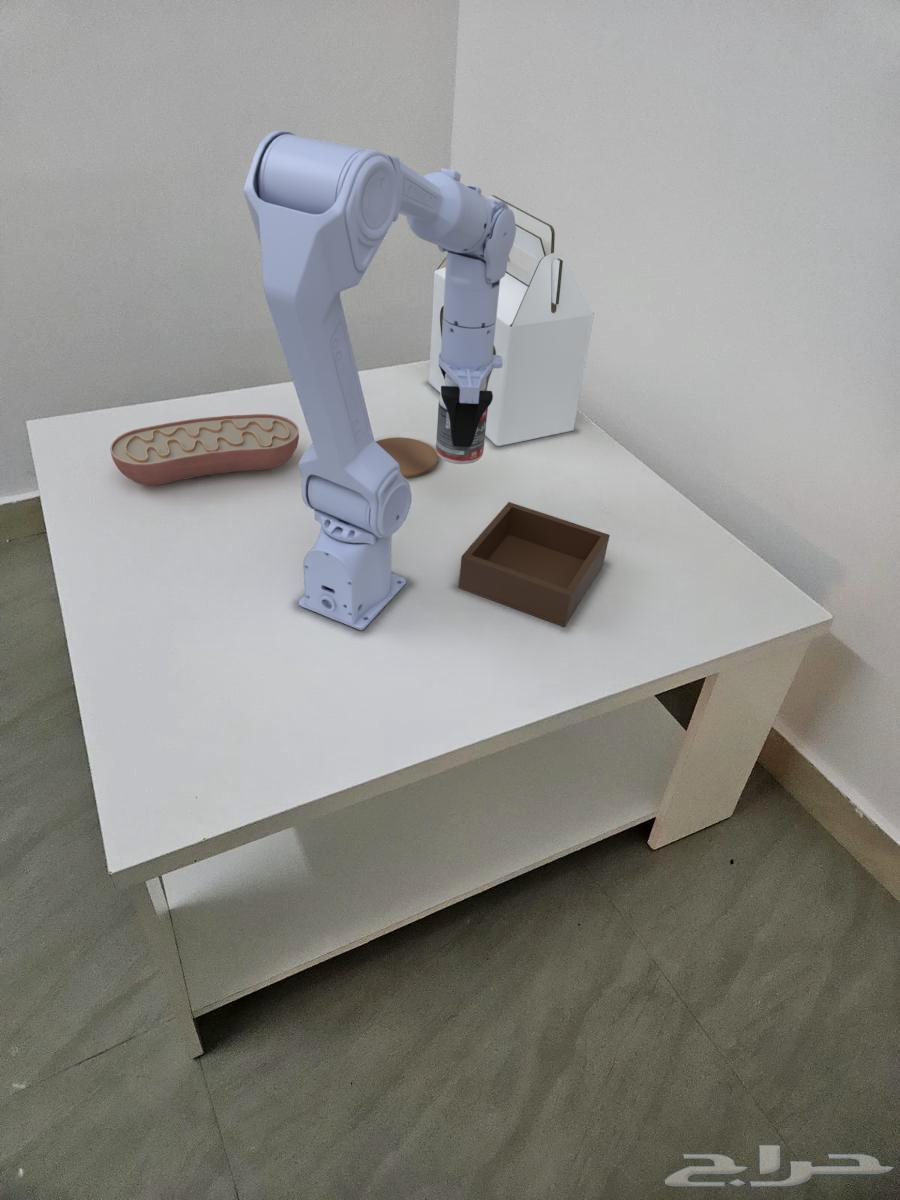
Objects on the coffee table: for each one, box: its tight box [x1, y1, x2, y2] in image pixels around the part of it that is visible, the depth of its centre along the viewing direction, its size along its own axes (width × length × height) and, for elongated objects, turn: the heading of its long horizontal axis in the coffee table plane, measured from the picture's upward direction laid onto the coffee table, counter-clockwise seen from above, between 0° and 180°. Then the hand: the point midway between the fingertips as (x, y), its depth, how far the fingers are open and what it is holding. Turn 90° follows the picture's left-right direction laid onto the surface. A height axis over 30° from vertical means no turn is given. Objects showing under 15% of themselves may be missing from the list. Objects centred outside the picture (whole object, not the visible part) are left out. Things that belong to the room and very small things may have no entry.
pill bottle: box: [435, 373, 488, 465], centre depth 95 cm, size 6×6×10 cm
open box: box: [458, 501, 611, 628], centre depth 91 cm, size 13×13×4 cm
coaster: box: [375, 437, 439, 479], centre depth 111 cm, size 10×10×1 cm
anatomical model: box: [109, 413, 300, 486], centre depth 104 cm, size 23×10×5 cm, turn 112°
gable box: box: [428, 194, 595, 447], centre depth 116 cm, size 22×13×28 cm, turn 27°
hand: (460, 432), depth 96 cm, fingers closed on pill bottle, 5 cm apart
